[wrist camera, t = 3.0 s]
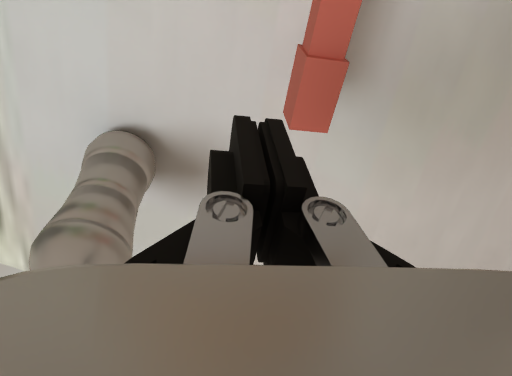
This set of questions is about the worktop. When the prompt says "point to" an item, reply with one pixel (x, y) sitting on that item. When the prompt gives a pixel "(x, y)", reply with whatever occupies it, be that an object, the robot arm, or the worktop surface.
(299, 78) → the lever
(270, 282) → the robot arm
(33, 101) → the worktop surface
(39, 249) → the plastic bottle
